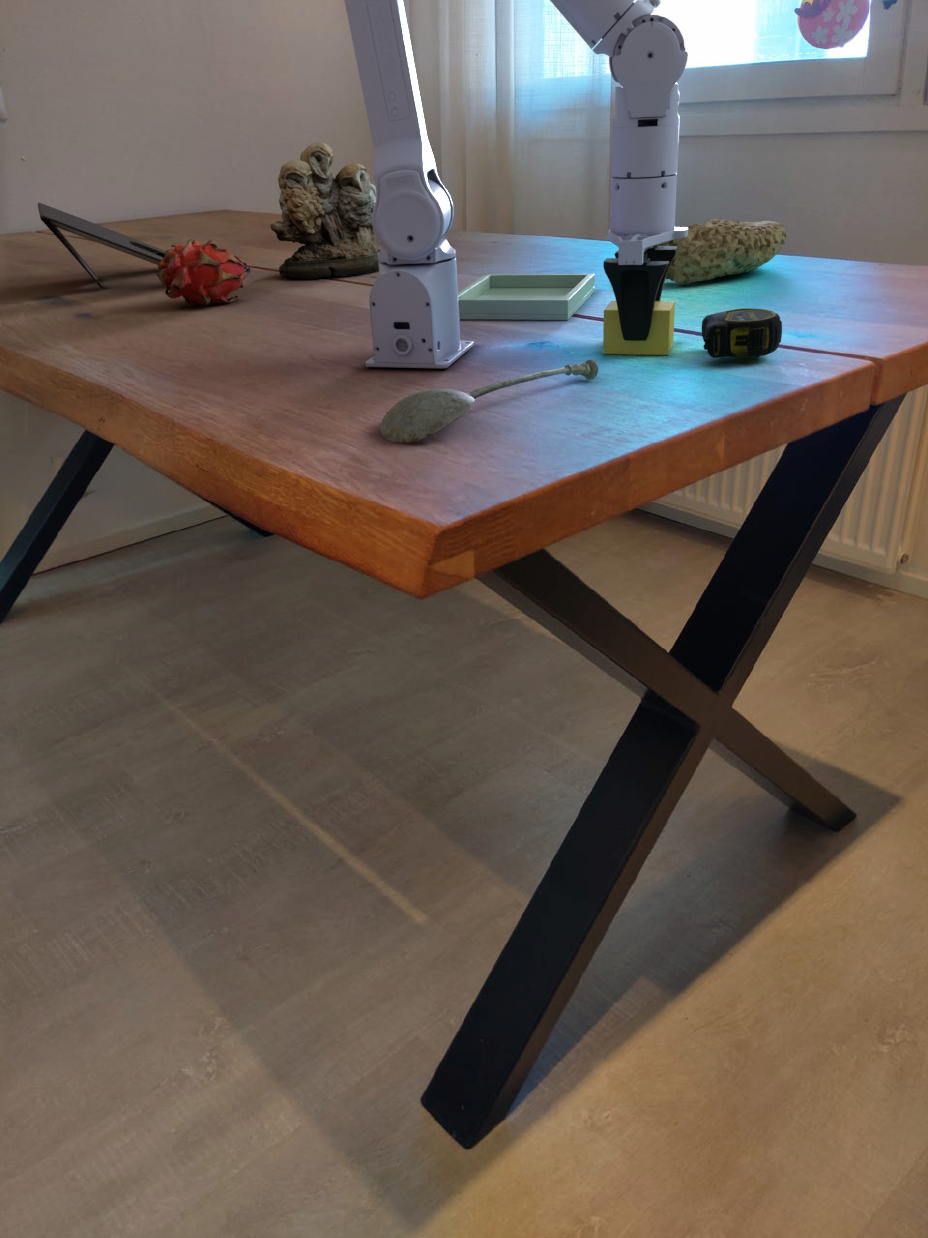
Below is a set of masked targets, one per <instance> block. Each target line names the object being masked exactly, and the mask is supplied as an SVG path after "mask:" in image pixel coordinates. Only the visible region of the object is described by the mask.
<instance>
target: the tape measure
mask: <svg viewBox="0 0 928 1238" xmlns="http://www.w3.org/2000/svg"><path fill="white" fill-rule="evenodd" d="M782 336H783V322H782V320H781V317H780V314H779V313H777V312H776V311H773V310H769V309H764V308H744V307H743V308H734V309H730V310H729V309H728V310H724V311H721V312H720V311H719V312H715V313H711V314H708V315H706V316H704V317H703V319H702V321H701V337H702V341H703V342H704V344H703V350H705V351H707V353H708V355H709V356H710V357H711V358H713V359H719V358H725V357H726V358H742V359H748V358H749V359H750V358H756V359H757V358H758V359H759V358H760V357H763V356H767V355H771V354H772V353H774V352H775V351H777V350H778V348H779V346H780V344H781V342H782Z"/></svg>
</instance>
